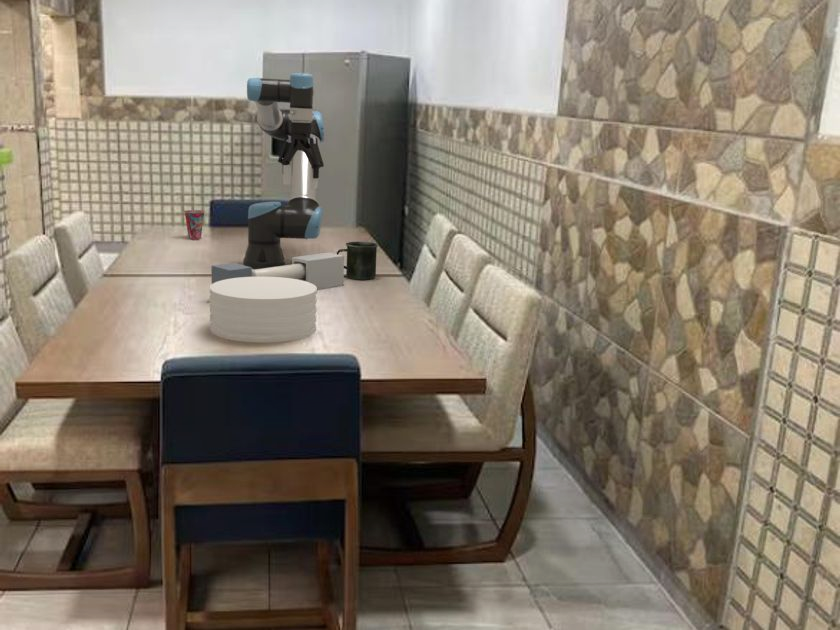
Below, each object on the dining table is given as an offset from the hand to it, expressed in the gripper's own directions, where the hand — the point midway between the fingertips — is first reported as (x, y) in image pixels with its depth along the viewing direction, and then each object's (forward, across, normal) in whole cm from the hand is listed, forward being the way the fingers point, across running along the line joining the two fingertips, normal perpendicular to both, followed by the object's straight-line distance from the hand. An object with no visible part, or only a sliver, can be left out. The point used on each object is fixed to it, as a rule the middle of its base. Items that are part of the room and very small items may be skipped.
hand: (300, 186), depth 283 cm
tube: (+29, +13, -23) cm, 39 cm away
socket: (+32, +13, -38) cm, 51 cm away
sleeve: (+32, +13, -3) cm, 34 cm away
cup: (+32, -89, +19) cm, 96 cm away
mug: (+32, +10, +18) cm, 38 cm away
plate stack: (+32, +44, -50) cm, 74 cm away
